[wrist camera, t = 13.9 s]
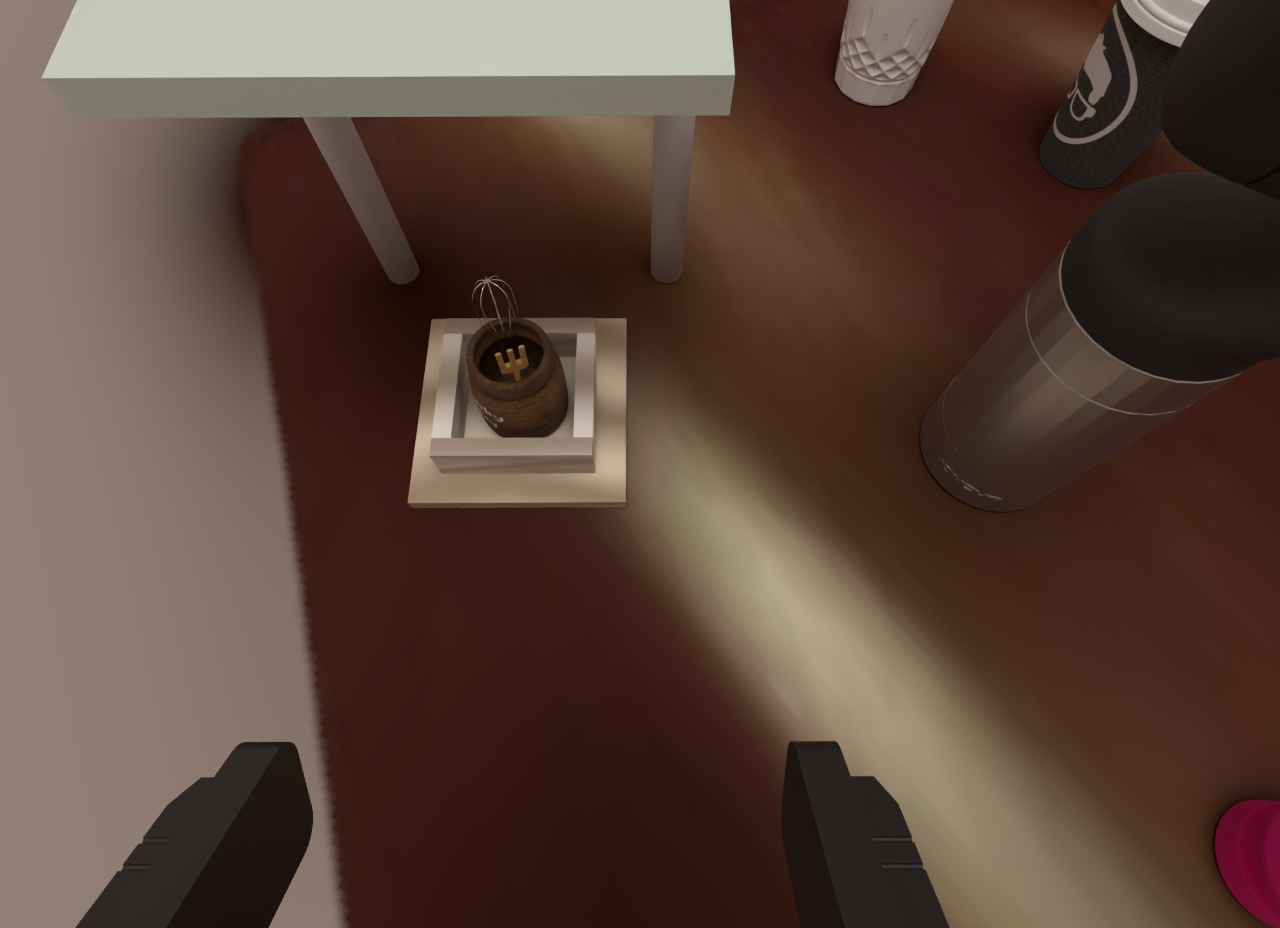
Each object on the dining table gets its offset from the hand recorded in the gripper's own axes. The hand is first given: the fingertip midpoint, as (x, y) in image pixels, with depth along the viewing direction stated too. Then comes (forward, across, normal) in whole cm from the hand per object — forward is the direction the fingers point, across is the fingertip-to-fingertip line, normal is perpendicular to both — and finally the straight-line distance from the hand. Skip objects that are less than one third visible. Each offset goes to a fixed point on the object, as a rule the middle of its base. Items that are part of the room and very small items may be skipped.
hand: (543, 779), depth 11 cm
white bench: (+41, +6, +2) cm, 42 cm away
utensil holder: (+37, +6, +6) cm, 38 cm away
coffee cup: (+54, -38, -10) cm, 67 cm away
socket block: (+37, +6, +6) cm, 38 cm away
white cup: (+60, -22, -17) cm, 66 cm away
